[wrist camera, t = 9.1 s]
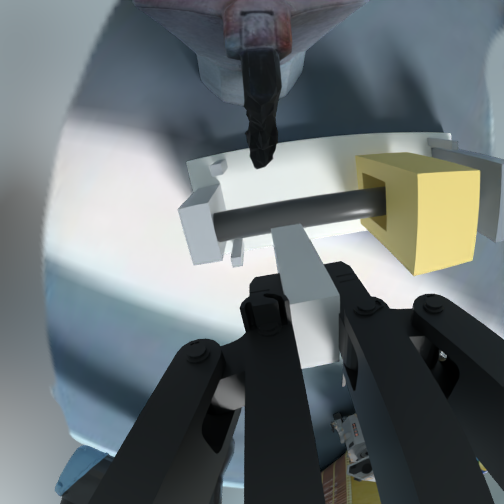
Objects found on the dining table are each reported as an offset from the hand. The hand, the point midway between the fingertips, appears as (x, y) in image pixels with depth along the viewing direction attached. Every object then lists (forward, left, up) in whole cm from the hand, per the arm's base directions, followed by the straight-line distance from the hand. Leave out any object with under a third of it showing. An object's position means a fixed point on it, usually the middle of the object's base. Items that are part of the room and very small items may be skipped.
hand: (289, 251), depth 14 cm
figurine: (+9, -36, -12) cm, 39 cm away
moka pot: (0, +12, -12) cm, 17 cm away
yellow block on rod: (+9, 0, -9) cm, 13 cm away
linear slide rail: (+6, 0, -12) cm, 13 cm away
